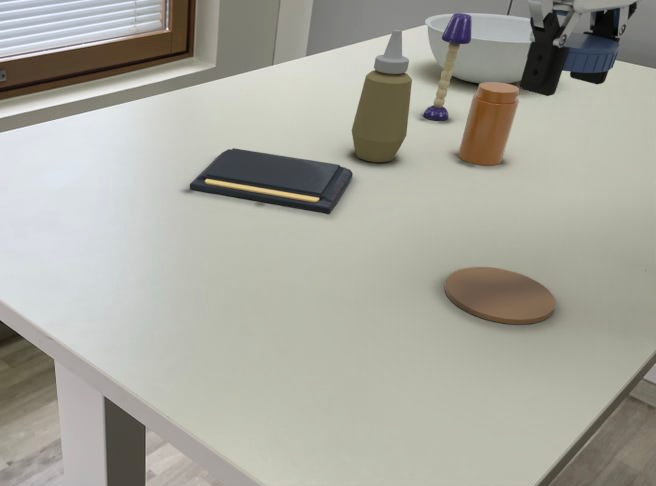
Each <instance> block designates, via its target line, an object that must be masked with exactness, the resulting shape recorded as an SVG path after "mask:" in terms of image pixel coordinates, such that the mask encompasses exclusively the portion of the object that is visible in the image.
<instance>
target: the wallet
mask: <svg viewBox="0 0 656 486" xmlns="http://www.w3.org/2000/svg"><path fill="white" fill-rule="evenodd" d="M352 178H353V171H352V170H351V169H349V168H347V167H344V166H341V164H338V163H330V162H325V161H324V162H323V161H318V160H311V159H304V158H299V157H291V156H286V155H280V154H272V153H268V152H267V153H266V152H260V151H254V150H247V149H242V148H241V149H240V148H236V147H235V148H234V147H233V148H231V149H230V148H228V149H226V150H224V151H223V152H221V153H220V154H219V155H218V156H217V157H215V158H214V160H212V162H211V163H210V164H209V165H207V167H206V168H205V169H204V170H202V171H201V172H200V174H199V175H197V176H196V177H195V178H194V179H193V181H192V182H191V183H189V189H190V190H195V191H200V192H205V193H210V194H217V195H223V196H229V197H233V198H240V199H245V200H252V201H256V202H263V203H268V204H274V205H279V206H285V207H290V208H297V209H301V210H307V211H314V212H318V213H319V212H320V213H323V214H330V213H331V211H332V210H333V208H335V206H337V204H338V202H339V200H340V199H341V197H342V196H343V194H344V192H345V190H346V189H347V187H348V186H349V184H350V182H351V181H352Z"/></svg>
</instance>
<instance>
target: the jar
mask: <svg viewBox="0 0 656 486" xmlns="http://www.w3.org/2000/svg"><path fill="white" fill-rule="evenodd" d="M518 96H520V88H519V87H518V86H516V85H514V84H512V83H508V84H506V83H500V82H484V83H481V84H480V83H478V87H477V90H476V93H474V94H473V95H472V99H471V103H470V107H469V111H468V115H467V118H466V122H465V127H464V131H463V134H462V138H461V142H460V146H459V151H458V153H457V155H458V158H459V159H460V160H462V161H464V162H466V163H469V164H474V165H478V166H496V165H499V164H501V163H502V161H503V158H504V155H505V150H506V147H507V144H508V141H509V138H510V133H511V130H512V127H513V124H514V120H515V117H516V114H517V110H518V106H519V103H520V100H519V98H518Z"/></svg>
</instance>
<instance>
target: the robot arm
mask: <svg viewBox="0 0 656 486" xmlns="http://www.w3.org/2000/svg"><path fill="white" fill-rule="evenodd" d="M640 2H641V0H527V3H528V10H529V14H530V18H529V19H530V25H531V28H532V32H531V34H530V41H531V42H532V44H531V47H530V51H529V54H528V58H527V61H526V65H525V68H524V71H523V75H522V78H521V80H520V81H519V87H520V88H519V89H521V90H524V91H527V92H530V93H535V94H538V95H541V96H545V97H550V96H554V95H555V93H556V91H557V88H558V85H559V82H560V80H561V77H562V73H563V71H562V70H563V67H564V63H565V60H566V57H567V54H568V51H569V47H565V46H564V45H565V44H566V42H567V40H568V38H569V37H570V35H571V33H573V31H574V30H575V28H576V26H577V24H578V22H579V20H580V19H581V17H582V16H583V14H586V13H587V14H588V13H590V14H589V15H590V18H589V31H583V32H582V34H588V35H594V36H599V37H603V38H607V39H610V40H613V41H615V42H617V43H618V44H620V39H621V38H622V37H623V36H624V34H625V33H626V31H627V27H628V21H629V20H630V18H631V17H632V16H633V14H635V12H636V10H637V8H638V7H637V6H638V4H639V3H640ZM568 3H569V4H568ZM570 3H571V4H570ZM558 16H562V17H565V18H564V20H563V21H562V23H561V25H560V21H559V18H558ZM609 71H610V70H608V71H605V72H597V73H582V72H570V71H569V77H570V78H571V79H574V80H578V81H581V82H586V83H591V84H592V85H601V84H603V83H605V82H606V79H607V76H608V73H609Z"/></svg>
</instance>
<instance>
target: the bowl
mask: <svg viewBox="0 0 656 486" xmlns="http://www.w3.org/2000/svg"><path fill="white" fill-rule="evenodd" d="M460 13H461V14H468V15H470V16H471V18H472V25H471V41H470V43H468V44H460V47H459V49H458V51H457V58H456V60H455V66H454V68H453V70H452V77H454V78H456V79H459V80H461V81H464V82H465V81H466V82H469V83H473V84H481V83H484V82H500V83H506V84H513V83H516V82H517V83H518V82H521V78H522V75H523V71H524V68H525V65H526V61H527V54H528V51H529V47H530V44H531V41H530V34H531V32H532V28H531V25H530V18H527V17H521V16H515V15H508V14H507V15H506V14H495V13H481V12H480V13H478V12H477V13H476V12H460ZM454 14H456V13H443V14H436V15H432V16H429V17H427V18H426V19H425V20H424V23H425V25H426V26H427V36H428V43H429V48H430V50H431V53H432V55H433V57H434V59H435V61H436V62H437V64H438V65H439V66H440V68H441V69H442V70H443V69H444V68H443V66H444V62H445V61H446V54H447V52H448V51H449V50H448V46H449V42H446V41H443V40H442V35H443V33H444V31H445V29H446V27H447V25H448V23H449V21H450V19H451V18H452V16H453V15H454Z"/></svg>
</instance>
